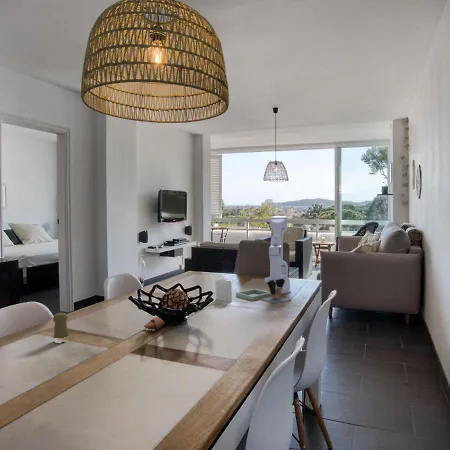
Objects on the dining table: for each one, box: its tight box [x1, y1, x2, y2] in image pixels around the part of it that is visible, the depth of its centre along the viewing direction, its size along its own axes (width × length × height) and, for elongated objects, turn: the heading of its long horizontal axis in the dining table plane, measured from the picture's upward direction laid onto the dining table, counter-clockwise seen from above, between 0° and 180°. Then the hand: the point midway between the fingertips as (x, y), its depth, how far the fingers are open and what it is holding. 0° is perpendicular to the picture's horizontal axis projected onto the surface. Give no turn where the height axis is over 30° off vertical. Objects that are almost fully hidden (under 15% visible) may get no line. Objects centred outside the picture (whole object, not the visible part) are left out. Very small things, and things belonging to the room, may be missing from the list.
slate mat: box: [261, 296, 292, 305], centre depth 208 cm, size 11×11×1 cm
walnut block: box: [269, 287, 283, 298], centre depth 208 cm, size 4×5×5 cm
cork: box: [52, 312, 70, 339], centre depth 154 cm, size 6×6×11 cm
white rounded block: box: [215, 277, 233, 303], centre depth 211 cm, size 10×4×12 cm, turn 39°
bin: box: [235, 288, 270, 302], centre depth 218 cm, size 14×14×2 cm
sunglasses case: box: [143, 316, 166, 330], centre depth 172 cm, size 18×7×7 cm
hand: (276, 293), depth 208 cm, fingers closed on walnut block, 4 cm apart
